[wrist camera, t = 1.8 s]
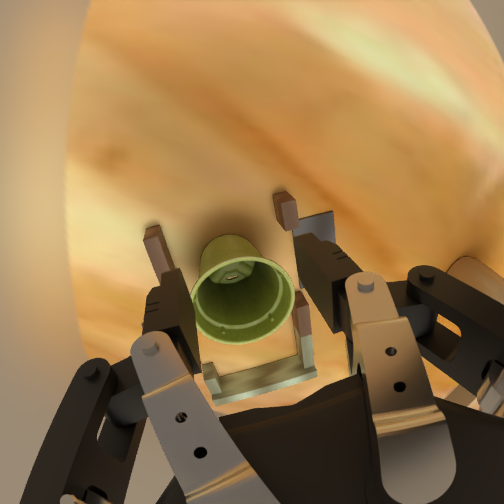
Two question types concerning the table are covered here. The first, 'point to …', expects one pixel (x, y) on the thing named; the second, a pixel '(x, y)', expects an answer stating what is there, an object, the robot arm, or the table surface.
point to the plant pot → (240, 293)
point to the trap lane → (303, 363)
